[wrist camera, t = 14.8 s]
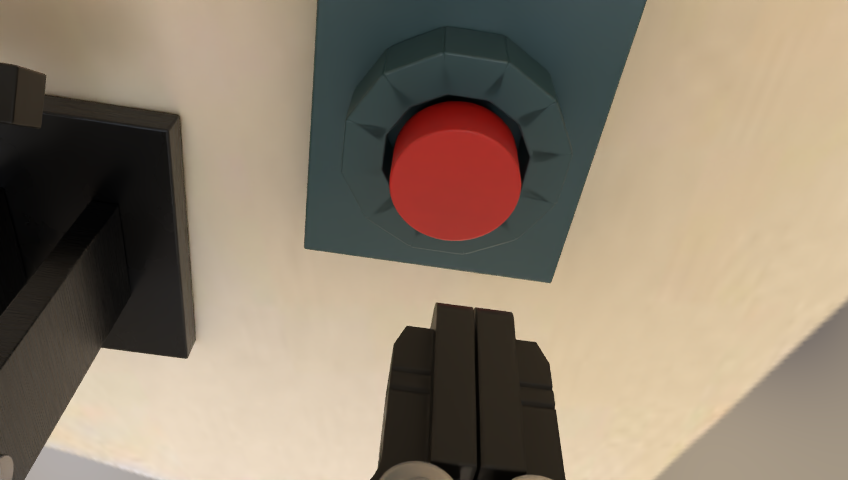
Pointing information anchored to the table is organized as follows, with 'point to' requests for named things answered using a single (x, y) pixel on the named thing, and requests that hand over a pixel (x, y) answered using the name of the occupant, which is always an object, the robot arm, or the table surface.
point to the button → (455, 171)
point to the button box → (469, 82)
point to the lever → (21, 96)
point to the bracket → (85, 257)
